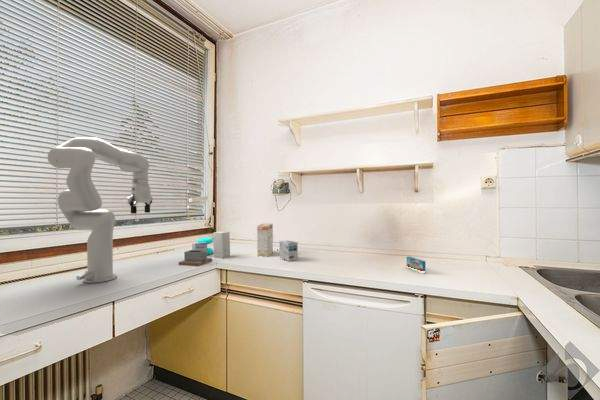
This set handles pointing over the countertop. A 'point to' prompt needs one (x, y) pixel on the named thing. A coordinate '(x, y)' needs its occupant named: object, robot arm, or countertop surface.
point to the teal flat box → (416, 263)
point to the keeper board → (192, 263)
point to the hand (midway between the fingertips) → (140, 213)
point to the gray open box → (195, 255)
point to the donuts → (208, 241)
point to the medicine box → (199, 246)
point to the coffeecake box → (264, 239)
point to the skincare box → (221, 244)
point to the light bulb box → (289, 250)
